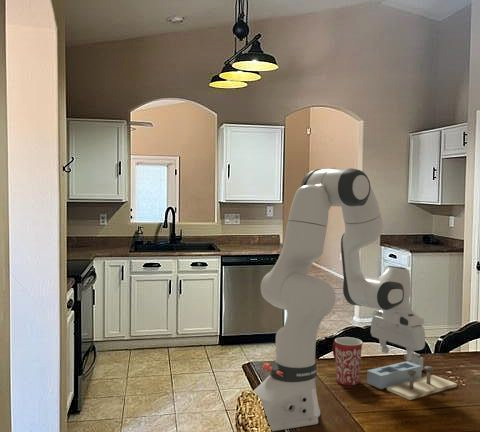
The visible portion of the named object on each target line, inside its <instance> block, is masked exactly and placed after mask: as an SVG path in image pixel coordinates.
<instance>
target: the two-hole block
mask: <svg viewBox="0 0 480 432" xmlns="http://www.w3.org/2000/svg"><path fill="white" fill-rule="evenodd" d="M408 370H413V371H416V375H414V380H416V379H419V378H422V371H423V370H422V366H420V365H417V364H414V363H411V361H406V360H405V361H401V362H398V363H397V362H396V363H393V364H389V365H384V366H381V367H380V366H379V367H377V368H376V367H375V368H372V369H367V371H366V384H368V385H370V386H373V387H375V388H377V389H380V390H384V389H387V387H389V386H393V385H396V384H400V383H404V382H408V381H410V374H408V373H407V371H408Z"/></svg>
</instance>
